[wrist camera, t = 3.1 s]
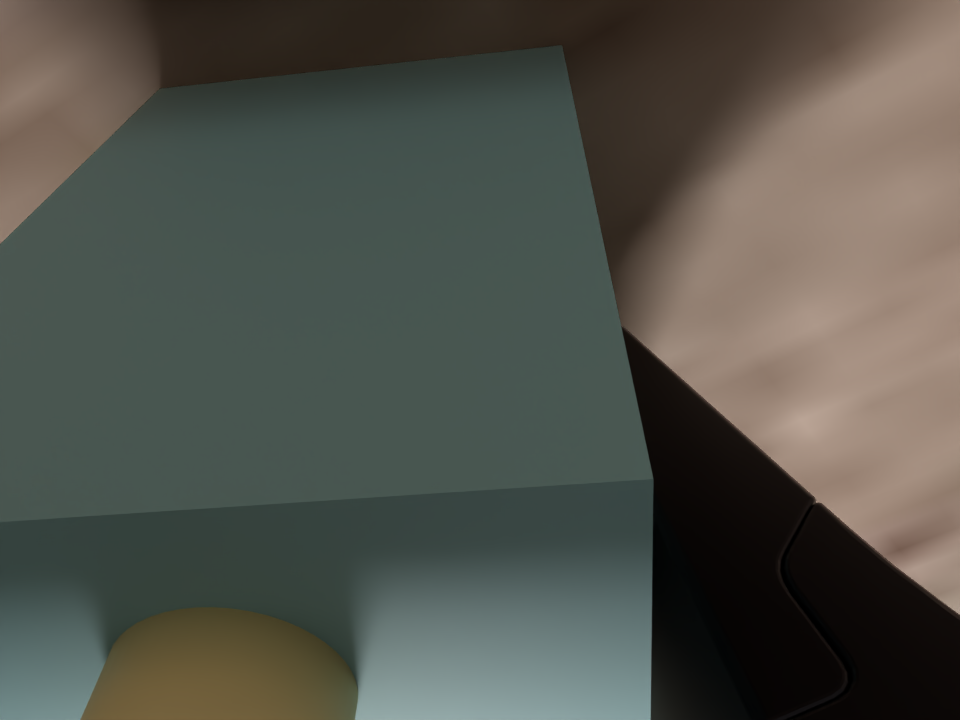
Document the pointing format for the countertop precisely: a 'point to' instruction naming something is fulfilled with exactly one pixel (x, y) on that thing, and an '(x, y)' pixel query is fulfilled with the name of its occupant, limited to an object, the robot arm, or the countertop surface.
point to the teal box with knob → (325, 412)
